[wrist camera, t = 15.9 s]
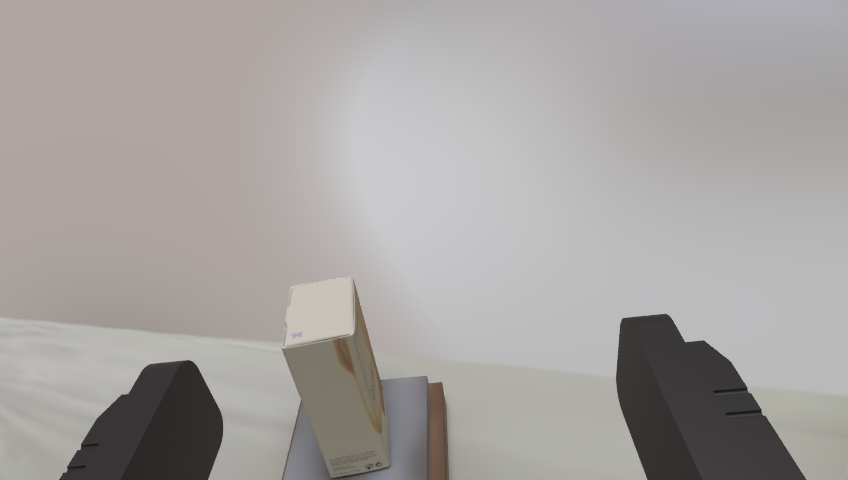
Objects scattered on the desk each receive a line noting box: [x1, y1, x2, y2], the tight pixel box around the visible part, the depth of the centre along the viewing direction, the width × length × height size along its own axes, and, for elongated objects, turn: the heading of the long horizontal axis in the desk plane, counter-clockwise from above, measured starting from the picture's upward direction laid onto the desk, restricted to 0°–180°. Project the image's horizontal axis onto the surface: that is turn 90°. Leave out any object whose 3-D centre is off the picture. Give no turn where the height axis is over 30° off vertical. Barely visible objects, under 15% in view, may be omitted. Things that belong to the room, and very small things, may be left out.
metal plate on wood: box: [282, 376, 449, 480], centre depth 41 cm, size 12×12×5 cm
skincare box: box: [282, 276, 391, 478], centre depth 36 cm, size 6×4×12 cm
